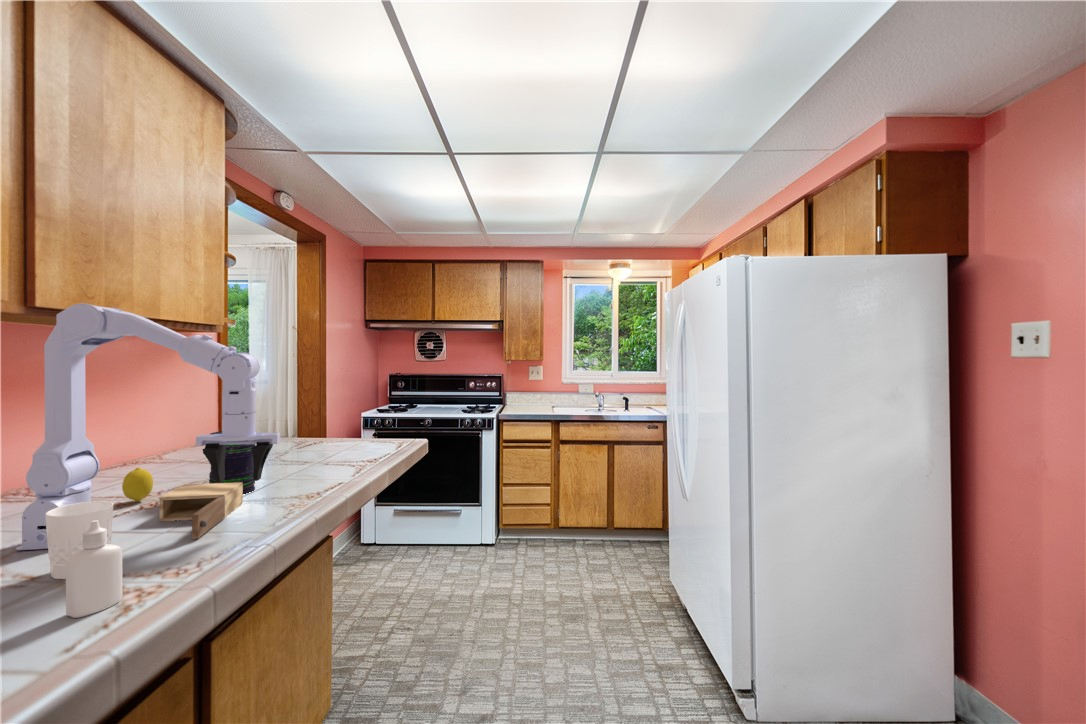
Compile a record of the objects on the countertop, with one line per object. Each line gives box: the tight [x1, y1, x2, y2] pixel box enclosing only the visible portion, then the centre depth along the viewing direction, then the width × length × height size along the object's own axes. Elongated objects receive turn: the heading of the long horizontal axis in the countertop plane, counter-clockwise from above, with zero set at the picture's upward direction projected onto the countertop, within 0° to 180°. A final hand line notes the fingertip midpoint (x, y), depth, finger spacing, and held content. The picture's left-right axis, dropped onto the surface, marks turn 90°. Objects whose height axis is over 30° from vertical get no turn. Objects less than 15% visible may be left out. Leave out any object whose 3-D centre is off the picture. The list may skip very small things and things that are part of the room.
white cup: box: [45, 500, 114, 580], centre depth 78 cm, size 8×8×10 cm
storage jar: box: [208, 430, 256, 495], centre depth 122 cm, size 10×10×15 cm
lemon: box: [121, 467, 154, 503], centre depth 113 cm, size 6×6×8 cm
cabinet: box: [158, 482, 244, 522], centre depth 106 cm, size 10×12×5 cm
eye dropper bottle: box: [65, 520, 123, 619], centre depth 66 cm, size 4×6×12 cm
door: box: [191, 496, 226, 540], centre depth 97 cm, size 2×12×5 cm, turn 13°
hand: (239, 480), depth 98 cm, fingers open, 6 cm apart
